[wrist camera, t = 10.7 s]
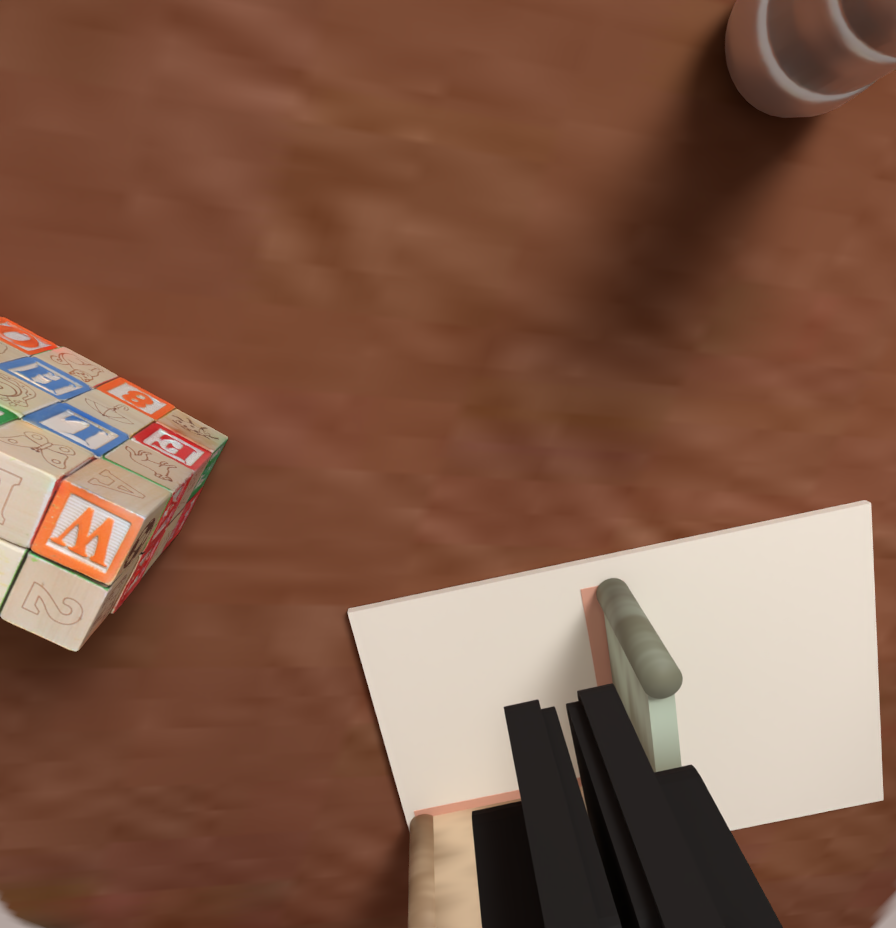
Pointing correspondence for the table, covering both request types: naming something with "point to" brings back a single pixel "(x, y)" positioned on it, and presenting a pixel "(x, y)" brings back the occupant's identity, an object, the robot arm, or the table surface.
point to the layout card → (690, 645)
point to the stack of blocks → (85, 485)
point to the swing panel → (642, 674)
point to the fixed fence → (444, 871)
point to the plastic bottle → (808, 52)
